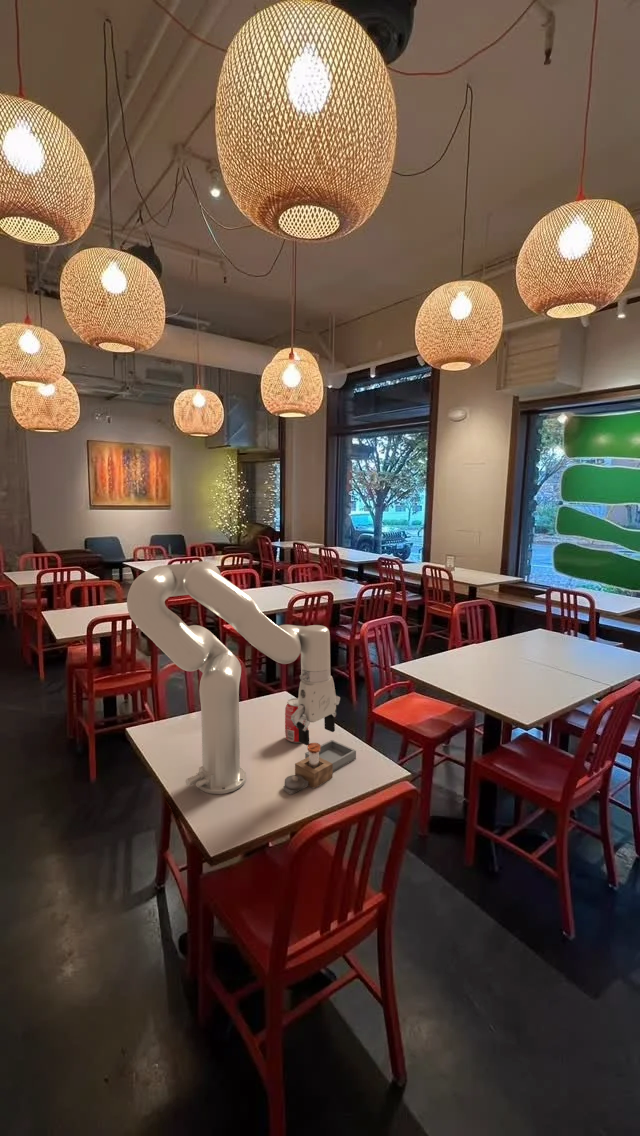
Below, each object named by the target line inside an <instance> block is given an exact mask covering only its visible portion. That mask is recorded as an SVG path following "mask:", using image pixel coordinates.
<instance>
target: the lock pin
mask: <svg viewBox="0 0 640 1136" xmlns="http://www.w3.org/2000/svg"><path fill="white" fill-rule="evenodd" d="M321 745H322V744H320V743H318V742H311V743H310V742H309V745H307V752H308V751H309V767H311V768H313V769H315V768H317V767H319V751H320V750H321Z"/></svg>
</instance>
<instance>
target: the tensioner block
mask: <svg viewBox="0 0 640 1136" xmlns="http://www.w3.org/2000/svg"><path fill="white" fill-rule="evenodd" d="M333 773H334V771H333V764H332V763H330V762H328V761H326V760H324V759H322V758H320V757H319V767H317V768H315V769H313V768H311V767H309V757H307V758H305V757H304V758H303V759H301V760H300V761H298V762H296V763H294V774H291V775H288V776H286V777H285V779H284V785H283V786H282V787H283V788H282V789H283V791H284V792H285V793H288V794H289V795H291V796H292V795H294V794H296V793H297V792H299V791H301V790H303V789H304V788H306V787H308V786H309V787H310V788H313V789H316V788H317V787H319V786H320V785H323V784H325V783H326V782H327V781H330V780H331V779H332V778H333Z"/></svg>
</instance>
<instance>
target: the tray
mask: <svg viewBox="0 0 640 1136" xmlns="http://www.w3.org/2000/svg"><path fill="white" fill-rule="evenodd" d="M320 745H321V750H320V751H319V757H320V758H322V759H324V760H326V761H328V762H330V763H332V764H333V772H335V771H337V770H338V769H340V767H341V768H342V767H344V766H346V765H347V763H348V762H349V763H351V762H353V761H355V760H356V759H357V750H356V749H353V748H351V747H349V746H347V745H344V744H343V743H340V742H338V741H335V740H333V739H331V740H328V741H327V742H325V743H323V744H320ZM304 754H305V756H304V759H305V758H307V757H309V751H308V750H307V752H305V753H304ZM354 759H355V760H354ZM352 760H353V761H352ZM350 761H351V762H350ZM349 763H348V764H349ZM345 764H346V765H345ZM343 765H344V766H343Z"/></svg>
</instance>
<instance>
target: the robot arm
mask: <svg viewBox="0 0 640 1136" xmlns="http://www.w3.org/2000/svg"><path fill="white" fill-rule="evenodd" d="M178 596H179V597H180V596H190V597H191V598H192V599H193V600H195V601H196V602H197V603H199V604H201V605H202V606H204V607H205V608H206V609H208V610H209V611H211V612H213V614H215V615H216V616H218V617H219V618H221V619H223V620H224V621H225V622H227V623H228V624H229V625H230V626H231V627H232V628H233V629H234V631H236V632H237V633H238V634H239V635H240V636H242V637H243V638H244V639H245V640H246V641H247V643H249V644H251V646H253V648H255V649H257V651H259V652H260V653H262V654H264V655H265V656H267V657H268V658H270V659H271V660H273V661H275V662H276V663H279V664H282V665H287V664H291V663H293V662H295V661H296V660H297V659H298V658H299V657H300V670H301V671H300V672H301V673H300V674H299V679H300V682H299V688H298V697H297V698H298V709H297V710H296V711H295V712H294V713H293V715H292V716H291V720H292V722H293V724H294V725H295V726H296V728H298V730H299V742H300V744H302V745H305V746H308V745H309V744H310V730H309V726H310V723H315V722H317V721H320V720H322V719H323V720H324V723H323V724H324V729H325V730H327V731H329V732H332V733H334V732H335V731H336V727H335V726H336V725H335V722H336V721H335V719H336V718H335V717H336V716H337V711H338V709H339V704H340V701H341V697H340V696H338V695H337V694H336V689H335V688H336V687H335V682H334V678H333V676H332V675H331V635H330V634H331V633H330V629H329V628H328V627H327V626H324V625H322V624H321V625H320V624H313V625H306V626H305V625H295V624H281V625H278V624H276V623H275V622H274V621H272V619H270V618H269V617H267V615H265V614H264V613H263V612H262V610H261V609H260V607H259V606H258V604H257V602H256V601H255V600H254V599H253V598H252V596H251V595H249V594H248V593H247V592H245V591H244V590H242V589H241V588H239V587H238V586H237V585H235V584H234V583H233V582H231V581H229V580H228V579H227V578H226V577H224V576H223V575H222V574H221V571H220V569H219V568H218V567H217V565H215V563H213V562H210V561H205V560H204V561H196V562H195V561H194V562H193V561H192V562H185V563H175V564H164V565H157V566H154V567H152V568H150V569H148V570H146V571H144V572H142V573H141V574H140V575H138V576H137V577H136V578H135V579H134V580H133V582H132V584H131V585H130V587H129V589H128V594H127V596H126V597H127V598H126V608H127V611H128V614H129V617H130V618H131V620H132V622H133V623H134V624H135V626H136V627H137V628H138V629H139V630H140V631H141V632H143V634H144V635H145V636H146V637H148V638H149V639H150V640H151V641H152V642H153V643H154V644H155V646H156V647H158V648H159V649H160V650H161V651H162V652H163V653H164V654H165V655H166V656H167V657H168V658H169V660H171V662H173V663H174V665H176V666H177V668H179V669H181V670H183V671H186V672H195V671H197V670H199V671H200V672H201V673H202V675H201V678H200V681H199V692H198V693H199V701H200V711H201V712H200V713H201V718H200V719H201V750H202V751H201V753H202V755H201V756H202V761H201V762H202V763H201V764H202V766H200V767H198V772H196V774H195V775H192V776H190V777H188V778H185V785H186V786H187V787H191V786H193V785H195V786H196V787H197V788H198V789H199V790H200V791H203V792H204V793H207V794H212V795H222V794H228V793H233V792H234V791H237V790H238V789H240V788H242V787H243V785H245V783H246V780H247V775H246V772H245V770H244V769H243V768H241V761H240V760H241V753H240V752H241V749H240V748H241V747H240V746H241V744H240V742H241V741H240V740H241V739H240V738H241V737H240V735H241V733H240V732H241V731H240V725H241V724H240V696H239V694H240V682H241V677H242V675H241V674H242V666H241V662H240V661H239V659H238V658H237V656H236V655H235V654H234V653H233V652H232V651H231V650H230V649H229V648H228V647H227V646H226V645H225V644H224V643H223V642H222V641H221V640H219V638H217V636H216V635H214V633H212V632H211V631H210V630H209V629H207V628H206V627H204V626H201V625H197V624H193V625H187V624H186V623H185V622H184V621H183V620H182V618H180V616H178V615H177V614H176V613H175V612H173V611H172V610H171V609H169V608H168V607H167V605H166V600H168V599H169V598H170V597H178ZM299 717H300V719H299ZM304 720H306V721H305V724H304V725H303V724H302V723H303V721H304ZM307 728H308V730H307Z"/></svg>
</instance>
